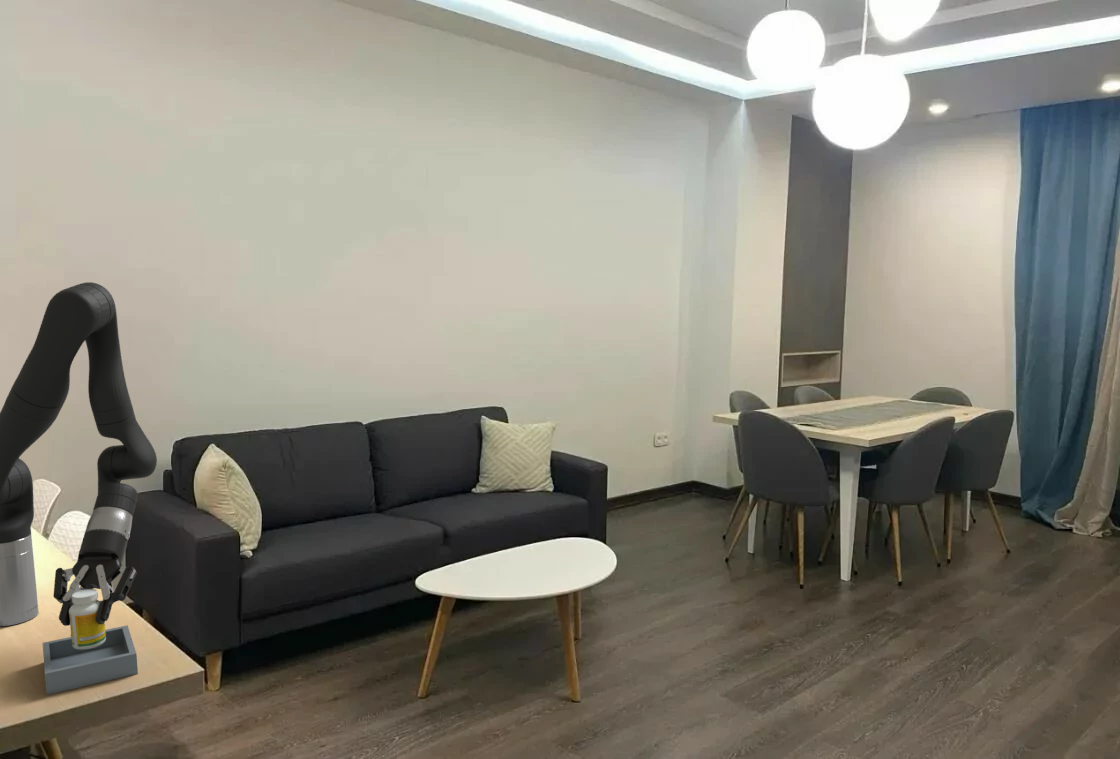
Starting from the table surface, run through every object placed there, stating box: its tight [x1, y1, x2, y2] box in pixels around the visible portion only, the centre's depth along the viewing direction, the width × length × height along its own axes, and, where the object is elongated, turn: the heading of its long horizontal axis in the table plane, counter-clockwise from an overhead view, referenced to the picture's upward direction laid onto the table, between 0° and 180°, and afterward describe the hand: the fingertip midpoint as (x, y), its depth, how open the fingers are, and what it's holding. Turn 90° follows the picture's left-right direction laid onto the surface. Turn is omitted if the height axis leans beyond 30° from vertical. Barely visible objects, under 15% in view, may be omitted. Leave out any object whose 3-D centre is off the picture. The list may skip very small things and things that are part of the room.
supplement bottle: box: [69, 588, 106, 650], centre depth 154 cm, size 5×5×10 cm
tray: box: [42, 624, 139, 696], centre depth 155 cm, size 14×14×4 cm
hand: (82, 623), depth 152 cm, fingers closed on supplement bottle, 5 cm apart
